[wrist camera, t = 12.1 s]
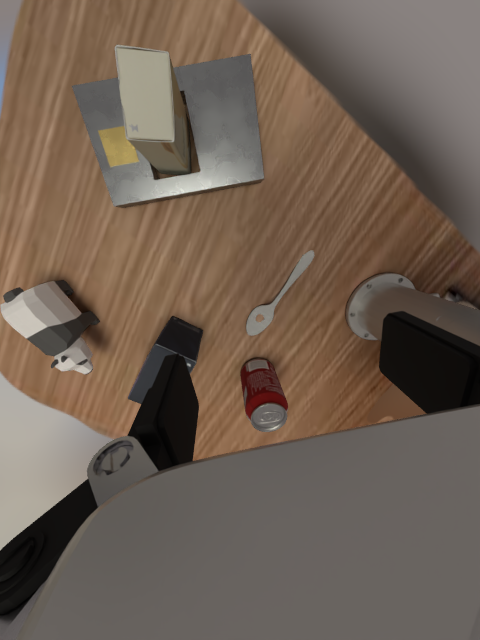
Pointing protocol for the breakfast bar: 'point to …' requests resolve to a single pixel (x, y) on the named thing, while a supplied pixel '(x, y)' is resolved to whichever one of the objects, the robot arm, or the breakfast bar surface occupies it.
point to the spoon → (268, 310)
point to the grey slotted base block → (207, 126)
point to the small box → (169, 342)
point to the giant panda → (51, 323)
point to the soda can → (263, 396)
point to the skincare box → (154, 108)
